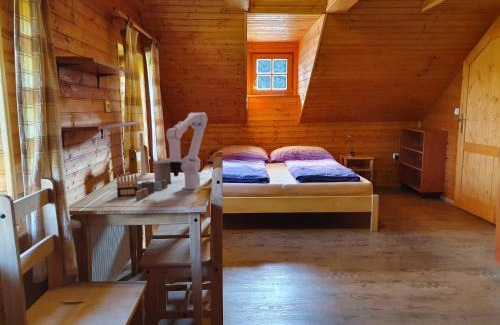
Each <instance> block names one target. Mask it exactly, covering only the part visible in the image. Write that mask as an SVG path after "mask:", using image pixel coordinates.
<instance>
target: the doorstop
mask: <svg viewBox="0 0 500 325" xmlns="http://www.w3.org/2000/svg"><path fill="white" fill-rule="evenodd" d="M154 182H155V181H149V180H145V181H143V182H141V183H142V187H141V188H139V190H141V189H144V188H148V195H151V193H152V194H155V189H154Z"/></svg>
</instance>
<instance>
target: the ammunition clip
mask: <svg viewBox="0 0 500 325" xmlns="http://www.w3.org/2000/svg"><path fill="white" fill-rule="evenodd" d="M136 176H137V174H136V173H134V176H133V174H132V173H131V174H130V175H129V174H127V176H126V174H124V175H123V174H120V175H119V174H117V175H116V194H117V195H116V197H117V198H127V197H128V198H130V197H136V191H138V180H137V177H136ZM134 189H135V190H134Z"/></svg>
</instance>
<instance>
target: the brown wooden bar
mask: <svg viewBox="0 0 500 325" xmlns="http://www.w3.org/2000/svg"><path fill="white" fill-rule="evenodd" d="M161 186H162V189H161V190H164V189H167V188H168V184H167V180H161ZM147 197H149V194H148V188H144V189H141V190H139V191H136V196H135V201H139V202H140V201H141V200H143V199H146V198H147Z"/></svg>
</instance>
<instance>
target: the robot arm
mask: <svg viewBox="0 0 500 325" xmlns="http://www.w3.org/2000/svg"><path fill="white" fill-rule="evenodd" d="M207 123H208V115H207V113H206V112H189V113H188V114H187V117H186V118H185V119H184V120H183V121H178V122H177V124H175V125H174V126H173V127H172V128H168V129H167V130H166V134H165V137H166V140H167V142H168V147H169V148H168V149H169V150H168V151H169V158H162V163H170V164H169V165H170V170H171V171H172V174H173V176H174V177H179V173H180V169H181V171H182V172H183V173H184V186H183V187H182V188H181V189H186V190H196V189H198V188H200V187H201V186H202V184H201V179H200V178H201V176H200V173H199V171H200V169H201V159H200V158H199V157H198V155H199V152H200V148H201V145H202V140H203V137H204V132H205V129H206V128H207V125H208V124H207ZM189 126H190V127H191V128H192V129H194V132H193V136H192V139H191V144H190V147H189V151H188V153H187V155H185V156H184V157H183V158H181V157H182V156H181V155H182V153H181V139H182V136H183V134H184V133H186V131H187V130H188V127H189Z"/></svg>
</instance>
